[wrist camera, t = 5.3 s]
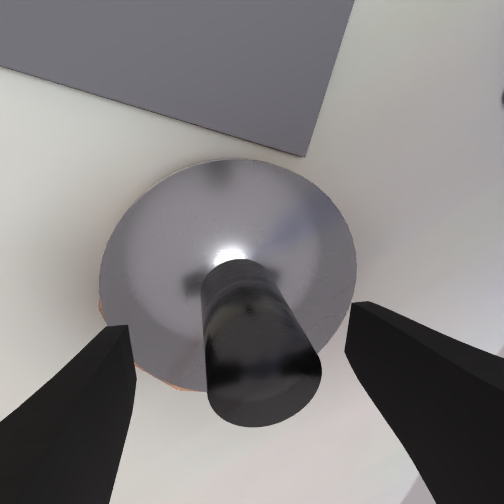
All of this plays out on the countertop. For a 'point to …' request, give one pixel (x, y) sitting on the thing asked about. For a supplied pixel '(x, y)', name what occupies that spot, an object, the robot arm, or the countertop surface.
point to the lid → (232, 285)
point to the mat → (188, 58)
